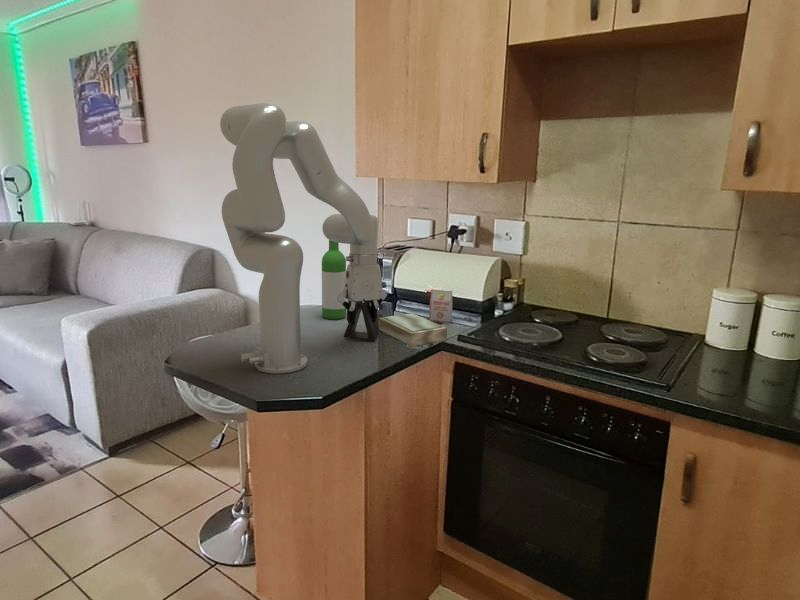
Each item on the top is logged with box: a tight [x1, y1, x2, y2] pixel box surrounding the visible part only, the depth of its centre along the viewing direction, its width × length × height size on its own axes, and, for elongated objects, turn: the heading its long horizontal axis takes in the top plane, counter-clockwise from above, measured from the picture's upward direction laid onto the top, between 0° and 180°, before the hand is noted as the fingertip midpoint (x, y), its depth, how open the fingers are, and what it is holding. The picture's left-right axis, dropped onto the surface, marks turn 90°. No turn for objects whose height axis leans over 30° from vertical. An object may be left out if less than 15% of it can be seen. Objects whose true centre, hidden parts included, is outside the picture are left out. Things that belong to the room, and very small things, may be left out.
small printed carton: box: [428, 289, 454, 324], centre depth 172 cm, size 4×7×10 cm, turn 74°
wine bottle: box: [321, 239, 347, 320], centre depth 170 cm, size 8×8×30 cm
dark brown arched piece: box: [343, 298, 380, 341], centre depth 150 cm, size 9×6×12 cm, turn 80°
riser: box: [378, 312, 448, 347], centre depth 156 cm, size 12×18×4 cm, turn 32°
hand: (361, 322), depth 151 cm, fingers closed on dark brown arched piece, 6 cm apart
